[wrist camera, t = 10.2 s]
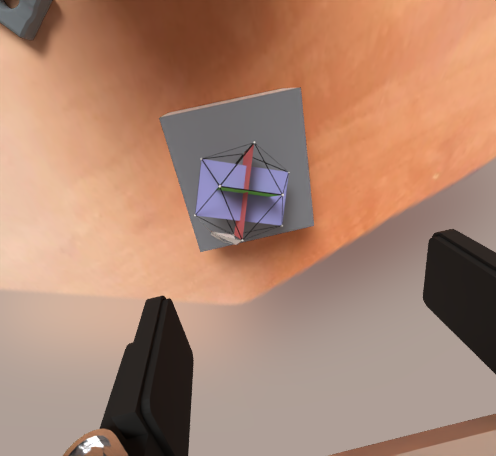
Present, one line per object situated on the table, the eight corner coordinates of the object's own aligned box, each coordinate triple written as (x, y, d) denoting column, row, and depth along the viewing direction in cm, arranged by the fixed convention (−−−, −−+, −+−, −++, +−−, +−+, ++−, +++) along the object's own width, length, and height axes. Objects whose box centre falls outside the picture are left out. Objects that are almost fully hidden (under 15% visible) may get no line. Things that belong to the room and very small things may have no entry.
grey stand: (282, 88, 27) (300, 87, 22) (296, 203, 33) (314, 225, 27) (168, 112, 27) (159, 118, 22) (201, 225, 32) (200, 252, 27)
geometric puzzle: (205, 109, 20) (194, 207, 16) (299, 126, 21) (310, 221, 17) (198, 174, 26) (189, 256, 22) (271, 184, 27) (274, 264, 24)
